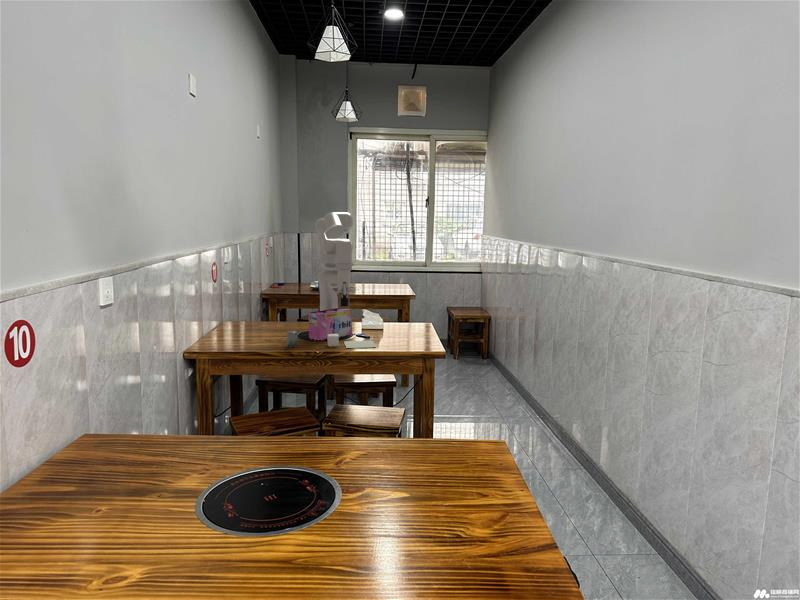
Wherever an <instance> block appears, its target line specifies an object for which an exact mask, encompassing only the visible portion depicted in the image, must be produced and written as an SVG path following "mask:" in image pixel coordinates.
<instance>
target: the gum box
mask: <svg viewBox="0 0 800 600" xmlns="http://www.w3.org/2000/svg"><path fill="white" fill-rule="evenodd" d="M352 314H353V313H352V308H350V309H339V307H338V308H335V309H329V310H322V311H320V310H316V311H311V312H308V339H309V338H310V339H309V340H312V339H314V340H313V341H316V340H318V341H317V342H320V341H319V340H321V341H325V340H324V339H327V334H338V335H339V338H341V336H342V337H346V335H347V336H351V334H352V335H353V323H352V322H353V319H352V318H353V317H352ZM327 340H328V339H327Z"/></svg>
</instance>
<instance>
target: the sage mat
mask: <svg viewBox="0 0 800 600" xmlns="http://www.w3.org/2000/svg"><path fill="white" fill-rule="evenodd" d="M343 344H344V347H345V346H346V347H345V349H346V348H360V349H376V348H377V346H376V344H375V342H374V341H373V340H352V341H351V340H350V341H349V340H345V341H343ZM373 347H375V348H373Z"/></svg>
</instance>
